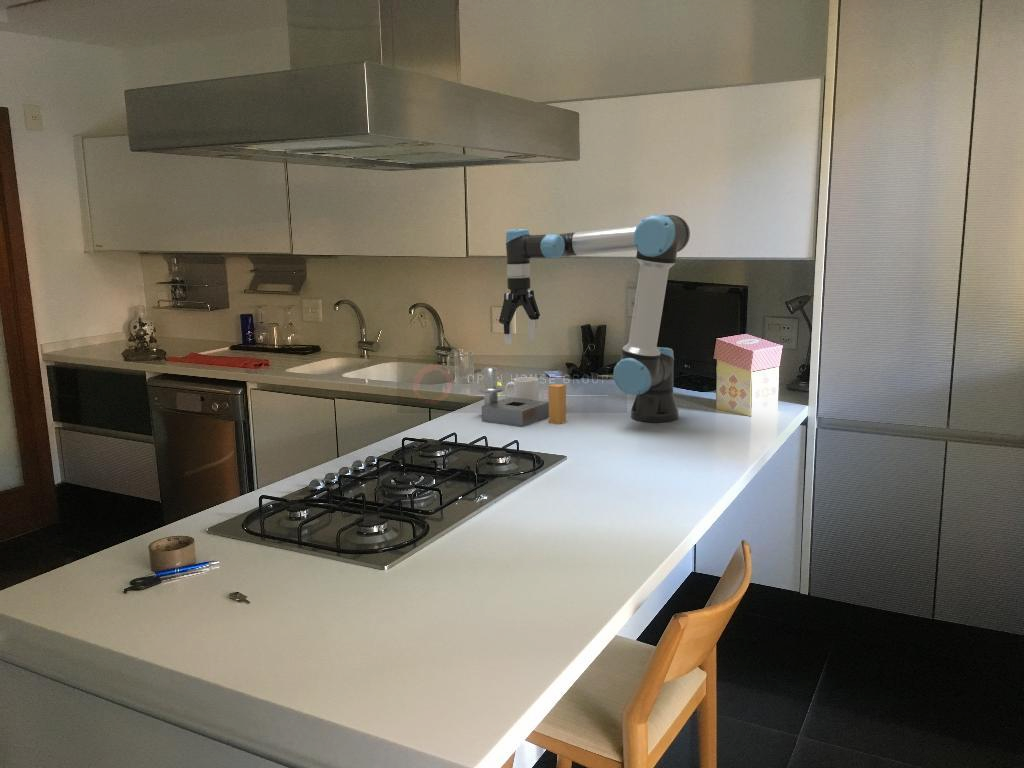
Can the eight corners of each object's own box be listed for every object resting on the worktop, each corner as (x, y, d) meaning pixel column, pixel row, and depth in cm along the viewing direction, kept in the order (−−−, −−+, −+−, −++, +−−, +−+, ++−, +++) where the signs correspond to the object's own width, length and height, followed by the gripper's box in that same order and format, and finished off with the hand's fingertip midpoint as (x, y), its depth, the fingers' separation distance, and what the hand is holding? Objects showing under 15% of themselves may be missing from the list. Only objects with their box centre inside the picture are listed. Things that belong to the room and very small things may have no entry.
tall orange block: (566, 421, 267) (565, 384, 265) (559, 424, 264) (559, 386, 262) (555, 420, 270) (555, 383, 268) (548, 422, 267) (548, 385, 264)
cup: (534, 411, 283) (533, 381, 281) (501, 409, 287) (500, 380, 285) (541, 406, 291) (541, 377, 289) (509, 404, 295) (509, 376, 293)
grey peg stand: (549, 416, 274) (549, 368, 271) (522, 426, 262) (521, 376, 259) (495, 409, 287) (494, 363, 284) (466, 418, 274) (465, 370, 271)
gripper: (530, 274, 285) (532, 336, 289) (486, 279, 265) (489, 345, 269) (549, 274, 281) (550, 337, 284) (505, 279, 261) (508, 346, 264)
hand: (520, 341), depth 277 cm, fingers open, 13 cm apart
